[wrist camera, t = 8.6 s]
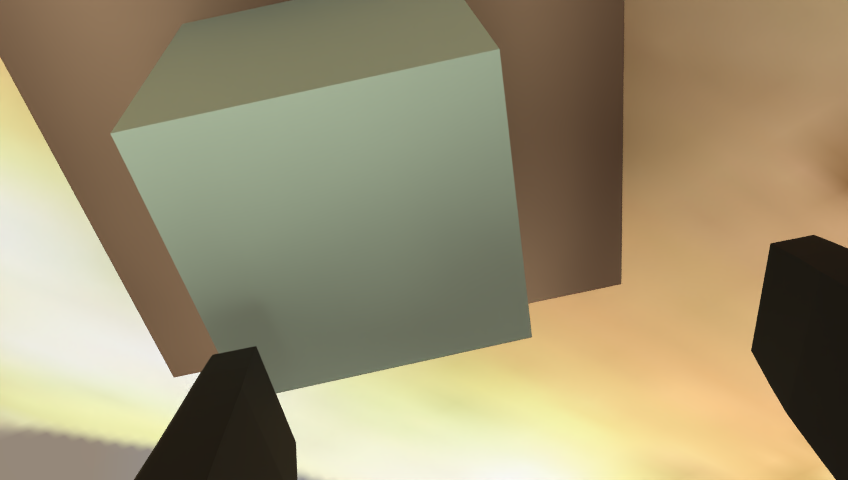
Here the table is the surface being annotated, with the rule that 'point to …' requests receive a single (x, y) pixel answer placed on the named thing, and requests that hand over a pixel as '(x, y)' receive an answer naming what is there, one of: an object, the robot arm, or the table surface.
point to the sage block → (335, 183)
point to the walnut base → (182, 3)
